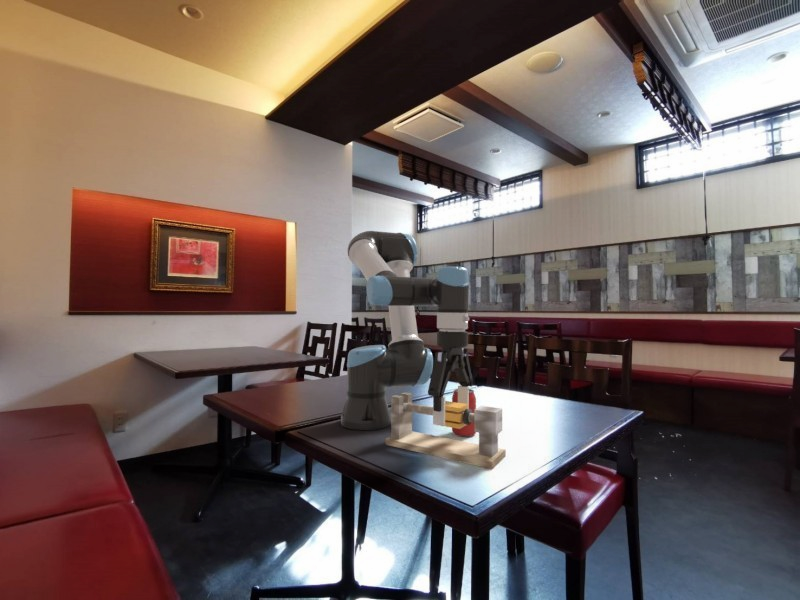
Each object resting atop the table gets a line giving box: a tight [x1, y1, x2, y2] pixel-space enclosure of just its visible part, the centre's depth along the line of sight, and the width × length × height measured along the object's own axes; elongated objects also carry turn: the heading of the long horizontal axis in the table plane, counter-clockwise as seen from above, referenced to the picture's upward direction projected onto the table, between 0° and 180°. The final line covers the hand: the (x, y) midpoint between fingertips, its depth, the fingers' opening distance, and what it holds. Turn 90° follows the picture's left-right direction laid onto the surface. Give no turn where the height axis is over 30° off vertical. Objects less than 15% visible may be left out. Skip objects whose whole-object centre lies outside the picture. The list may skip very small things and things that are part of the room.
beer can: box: [451, 388, 477, 438], centre depth 107 cm, size 7×7×12 cm
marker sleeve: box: [444, 400, 468, 429], centre depth 93 cm, size 6×5×5 cm
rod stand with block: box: [385, 392, 507, 470], centre depth 94 cm, size 28×9×12 cm, turn 57°
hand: (451, 418), depth 93 cm, fingers open, 13 cm apart
